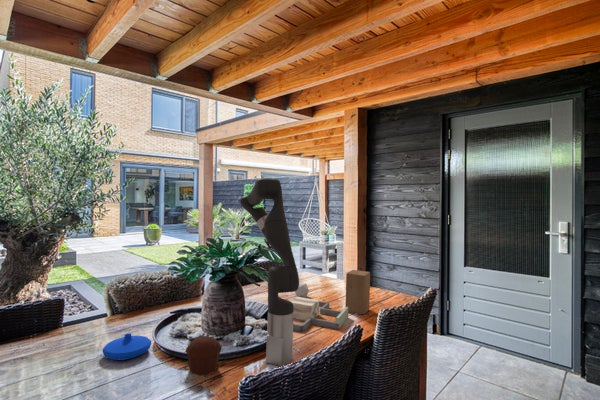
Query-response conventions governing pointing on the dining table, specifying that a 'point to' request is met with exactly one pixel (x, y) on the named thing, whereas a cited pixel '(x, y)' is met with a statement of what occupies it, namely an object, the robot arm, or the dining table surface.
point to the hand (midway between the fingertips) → (284, 253)
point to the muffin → (203, 355)
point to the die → (302, 290)
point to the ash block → (305, 308)
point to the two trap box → (323, 310)
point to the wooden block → (357, 291)
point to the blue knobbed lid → (126, 347)
